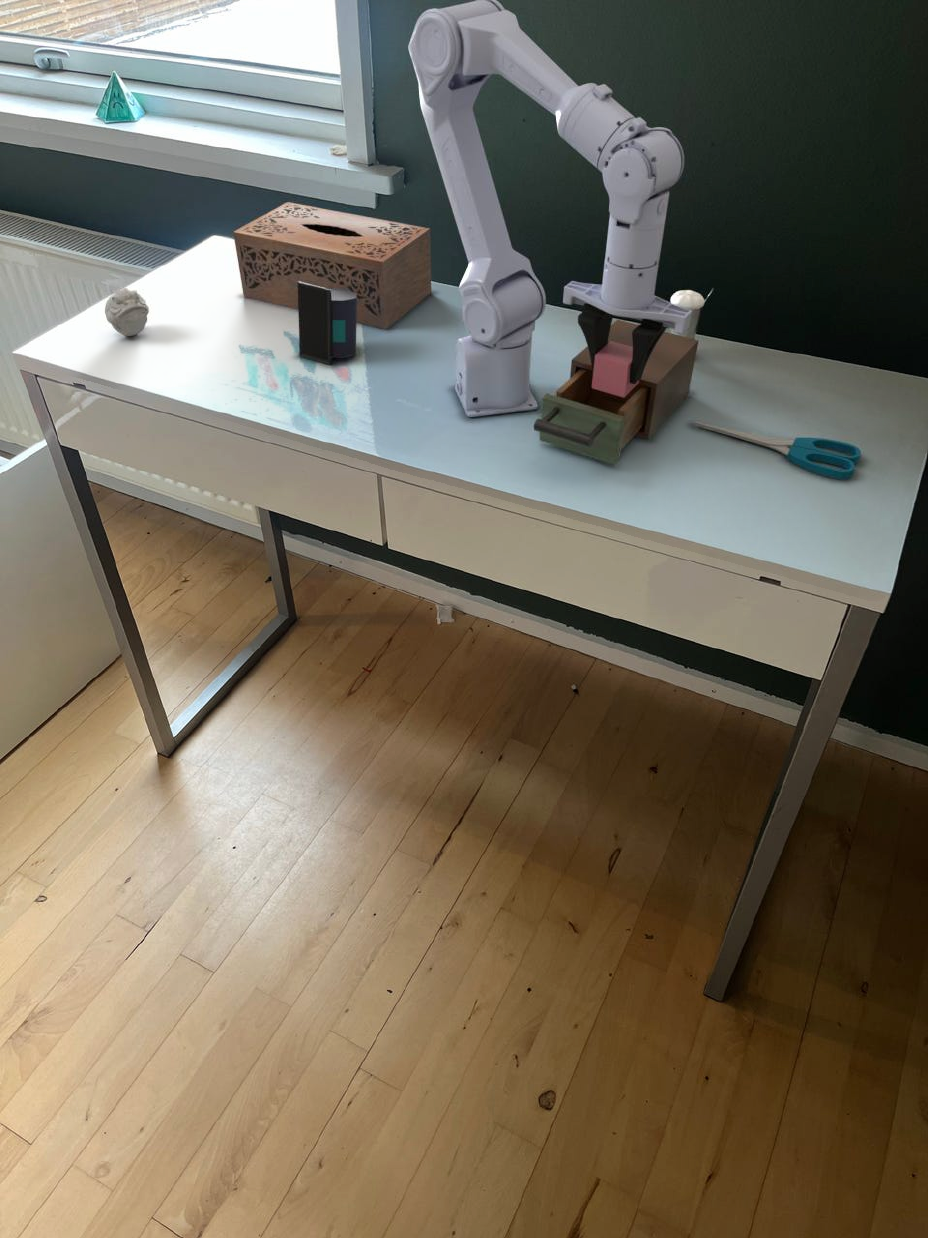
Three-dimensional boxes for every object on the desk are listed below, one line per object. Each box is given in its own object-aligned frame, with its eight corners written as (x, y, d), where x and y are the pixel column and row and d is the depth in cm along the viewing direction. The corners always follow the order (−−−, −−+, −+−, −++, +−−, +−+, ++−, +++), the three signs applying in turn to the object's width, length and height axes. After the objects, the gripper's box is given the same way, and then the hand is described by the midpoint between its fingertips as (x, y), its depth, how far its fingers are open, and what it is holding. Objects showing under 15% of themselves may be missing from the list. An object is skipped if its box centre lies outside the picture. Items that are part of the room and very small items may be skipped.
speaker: (321, 369, 127) (317, 293, 120) (299, 356, 130) (294, 282, 124) (366, 358, 131) (365, 284, 125) (343, 345, 134) (341, 273, 128)
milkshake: (699, 364, 129) (713, 295, 122) (661, 361, 129) (672, 291, 123) (700, 350, 132) (713, 281, 125) (662, 346, 133) (673, 278, 126)
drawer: (596, 485, 106) (602, 440, 102) (519, 459, 110) (521, 415, 106) (656, 418, 116) (663, 376, 112) (584, 397, 120) (588, 355, 116)
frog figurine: (123, 349, 132) (110, 302, 127) (103, 332, 136) (90, 285, 131) (162, 337, 134) (151, 290, 130) (142, 320, 138) (130, 274, 134)
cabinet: (648, 439, 114) (657, 383, 109) (566, 414, 119) (571, 359, 114) (688, 393, 123) (698, 340, 118) (610, 371, 127) (617, 319, 122)
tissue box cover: (431, 292, 146) (429, 228, 139) (386, 329, 136) (382, 262, 130) (295, 263, 154) (287, 201, 147) (243, 296, 145) (233, 231, 138)
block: (624, 397, 106) (628, 364, 103) (591, 388, 108) (595, 355, 105) (639, 382, 109) (643, 349, 106) (606, 373, 110) (610, 340, 107)
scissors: (851, 474, 107) (685, 432, 114) (849, 481, 107) (684, 438, 115) (863, 447, 111) (703, 407, 118) (861, 454, 112) (701, 414, 119)
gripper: (710, 260, 98) (688, 376, 107) (587, 232, 103) (576, 345, 113) (685, 283, 93) (664, 402, 103) (558, 253, 99) (549, 369, 108)
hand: (616, 374), depth 107 cm, fingers closed on block, 4 cm apart
